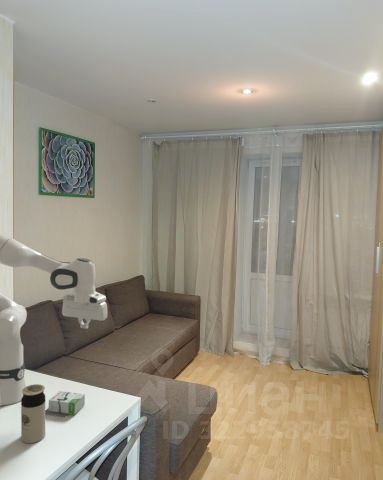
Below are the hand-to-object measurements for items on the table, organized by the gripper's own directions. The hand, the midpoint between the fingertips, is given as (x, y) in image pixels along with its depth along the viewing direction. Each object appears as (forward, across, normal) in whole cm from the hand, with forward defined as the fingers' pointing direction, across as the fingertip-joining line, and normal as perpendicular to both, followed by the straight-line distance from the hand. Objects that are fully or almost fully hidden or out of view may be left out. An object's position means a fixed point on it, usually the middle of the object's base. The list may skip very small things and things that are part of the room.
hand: (84, 327), depth 162 cm
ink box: (+28, +5, -10) cm, 30 cm away
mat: (+31, -4, -10) cm, 33 cm away
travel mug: (+31, -2, -31) cm, 44 cm away
